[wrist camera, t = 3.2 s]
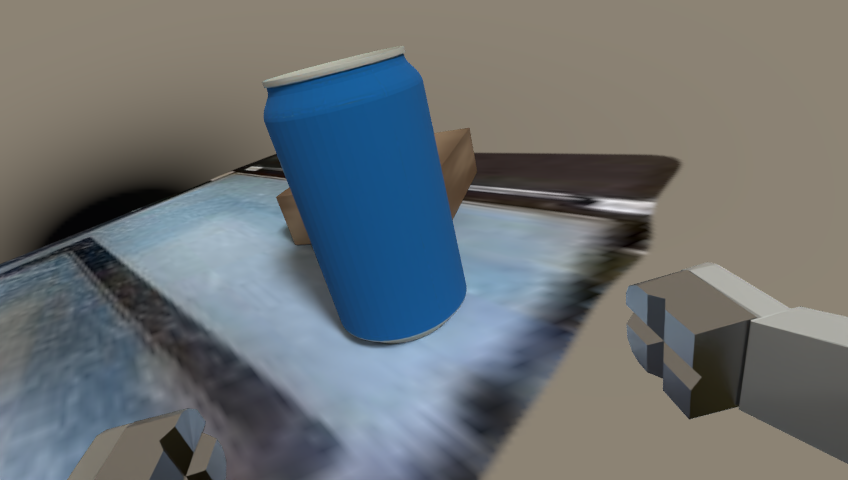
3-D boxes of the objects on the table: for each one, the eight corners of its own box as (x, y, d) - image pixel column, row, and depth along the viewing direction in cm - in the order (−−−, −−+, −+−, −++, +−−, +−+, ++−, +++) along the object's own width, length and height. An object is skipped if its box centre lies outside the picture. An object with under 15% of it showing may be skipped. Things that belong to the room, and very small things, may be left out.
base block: (295, 244, 33) (274, 191, 31) (359, 185, 43) (346, 142, 41) (444, 235, 28) (430, 173, 27) (477, 171, 38) (468, 123, 36)
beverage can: (348, 292, 25) (270, 76, 20) (456, 264, 25) (407, 42, 20) (341, 370, 19) (228, 93, 14) (483, 333, 19) (424, 43, 14)
